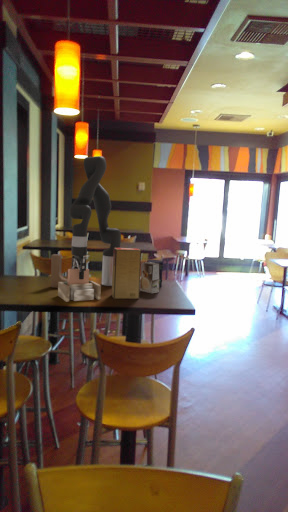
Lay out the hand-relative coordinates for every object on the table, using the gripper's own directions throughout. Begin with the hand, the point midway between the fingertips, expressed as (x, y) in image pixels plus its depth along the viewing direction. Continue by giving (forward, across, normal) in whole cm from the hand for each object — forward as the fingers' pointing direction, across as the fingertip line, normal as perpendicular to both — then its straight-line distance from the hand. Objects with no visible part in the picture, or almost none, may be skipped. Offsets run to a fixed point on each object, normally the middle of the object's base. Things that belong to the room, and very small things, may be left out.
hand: (78, 277), depth 196 cm
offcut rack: (+10, -2, 0) cm, 10 cm away
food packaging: (+10, -7, -23) cm, 26 cm away
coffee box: (+10, +1, -42) cm, 43 cm away
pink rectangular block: (+10, 0, 0) cm, 10 cm away
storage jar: (+10, +15, -53) cm, 56 cm away
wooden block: (+10, +24, +2) cm, 26 cm away
